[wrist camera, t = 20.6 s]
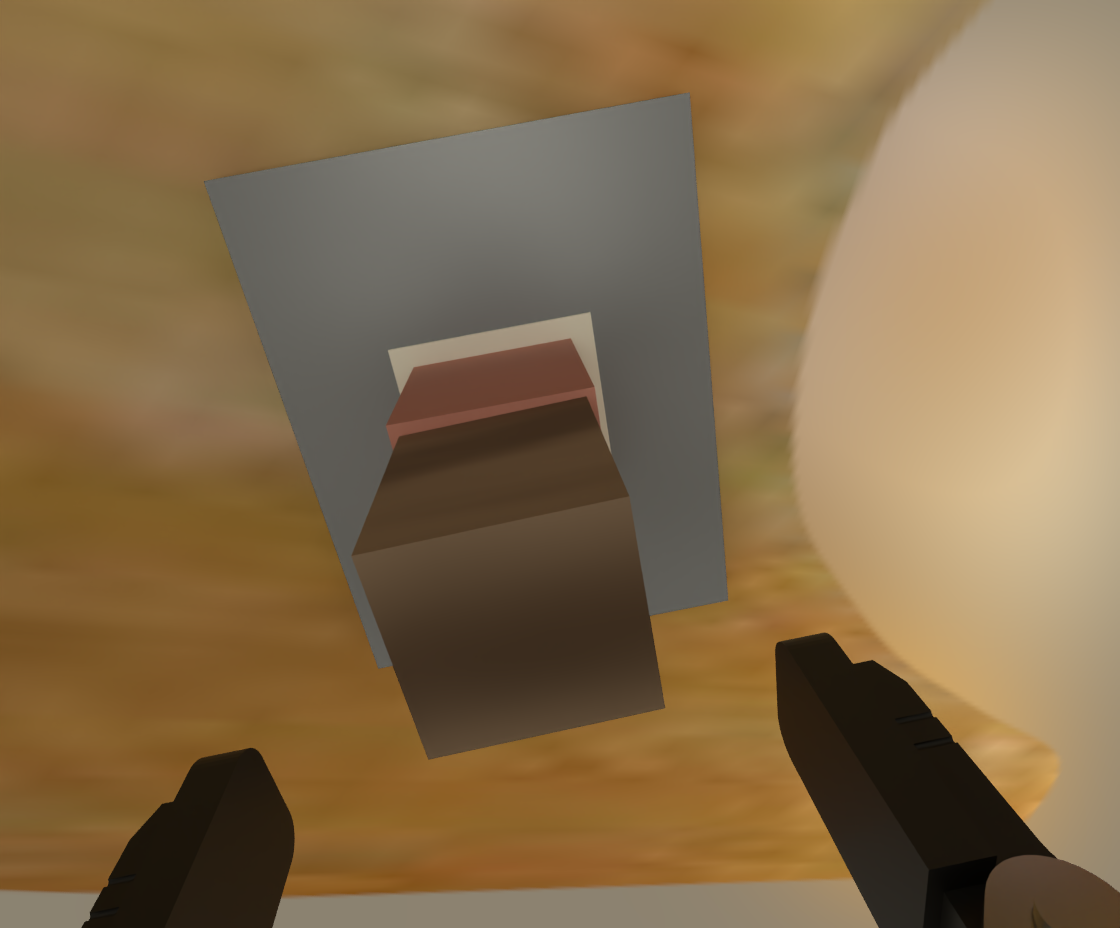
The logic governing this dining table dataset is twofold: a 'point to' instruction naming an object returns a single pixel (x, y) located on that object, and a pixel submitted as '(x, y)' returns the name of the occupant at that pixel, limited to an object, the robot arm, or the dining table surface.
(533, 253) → the grey flat rectangular panel
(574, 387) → the red block
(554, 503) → the walnut block
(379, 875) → the dining table surface
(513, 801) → the dining table surface
